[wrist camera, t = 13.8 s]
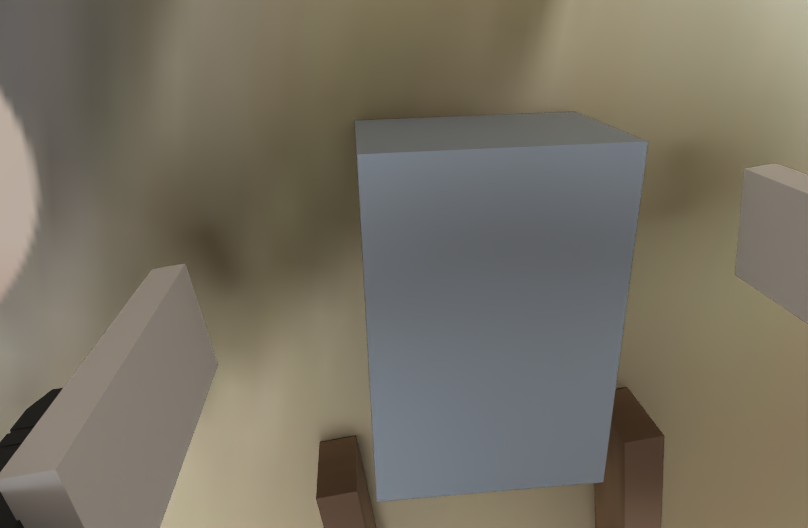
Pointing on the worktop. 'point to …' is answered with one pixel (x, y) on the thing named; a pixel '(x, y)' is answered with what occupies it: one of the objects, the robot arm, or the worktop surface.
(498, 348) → the slate block
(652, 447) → the walnut channel
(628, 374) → the worktop surface
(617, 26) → the worktop surface
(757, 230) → the robot arm
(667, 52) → the worktop surface
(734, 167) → the worktop surface
